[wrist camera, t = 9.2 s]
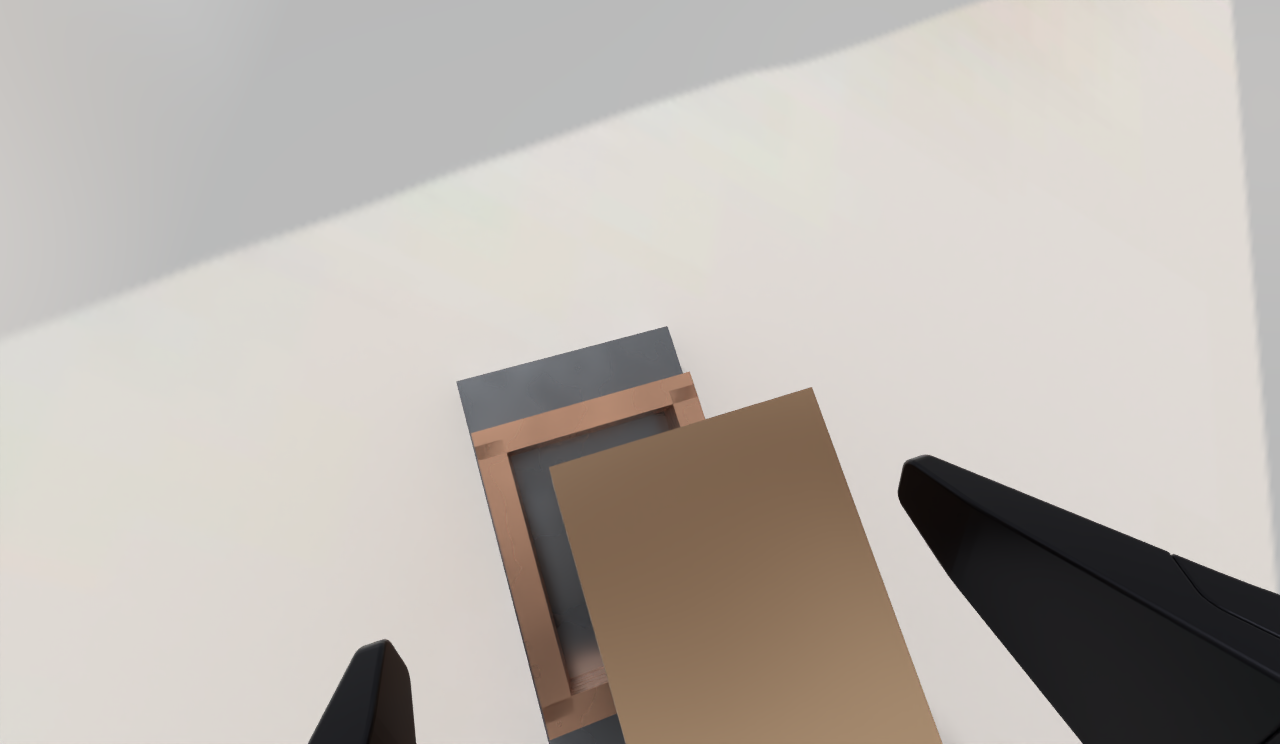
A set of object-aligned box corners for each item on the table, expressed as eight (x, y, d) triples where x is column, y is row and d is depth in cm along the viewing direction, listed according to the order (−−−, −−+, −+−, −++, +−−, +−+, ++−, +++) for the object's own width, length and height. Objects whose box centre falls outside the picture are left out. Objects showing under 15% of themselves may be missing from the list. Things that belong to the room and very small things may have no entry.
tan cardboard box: (691, 604, 17) (974, 830, 6) (596, 639, 17) (690, 975, 5) (645, 458, 18) (812, 387, 6) (553, 486, 17) (549, 467, 6)
